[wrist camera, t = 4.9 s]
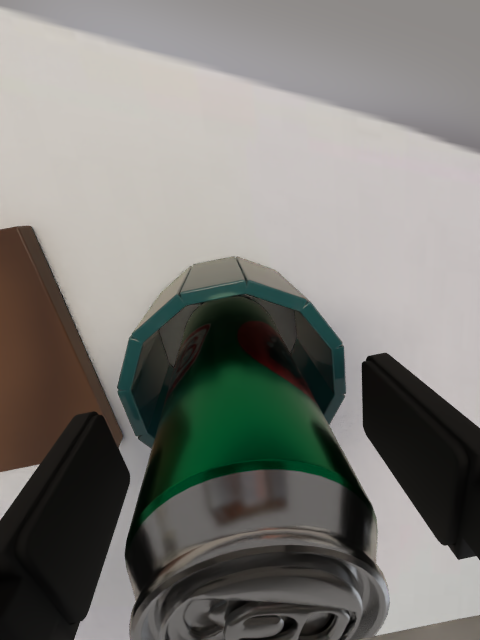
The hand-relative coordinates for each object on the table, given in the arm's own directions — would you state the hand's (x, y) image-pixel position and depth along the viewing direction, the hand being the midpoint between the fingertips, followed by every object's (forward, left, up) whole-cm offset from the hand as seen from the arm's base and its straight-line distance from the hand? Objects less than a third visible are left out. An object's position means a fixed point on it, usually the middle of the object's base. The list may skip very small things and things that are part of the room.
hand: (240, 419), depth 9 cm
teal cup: (0, 0, -7) cm, 7 cm away
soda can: (0, 0, -7) cm, 7 cm away
